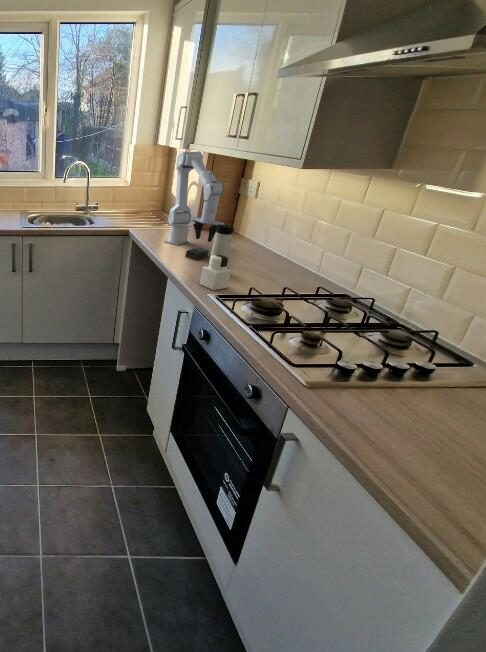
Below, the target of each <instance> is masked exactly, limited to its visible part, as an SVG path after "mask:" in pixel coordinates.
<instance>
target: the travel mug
mask: <svg viewBox="0 0 486 652" xmlns="http://www.w3.org/2000/svg"><path fill="white" fill-rule="evenodd" d="M234 230H235V227H234V226H230V225H227V224H224V225H221V224H218V225H217V229H216V233H215V235H214V237H213V243H212V248H211V253H210V257H209V259H210V258H211V256H212V255H223V256H226V257H227V258H228V256H229V252H230V248H231V243H232V238H233V235H234Z"/></svg>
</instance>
